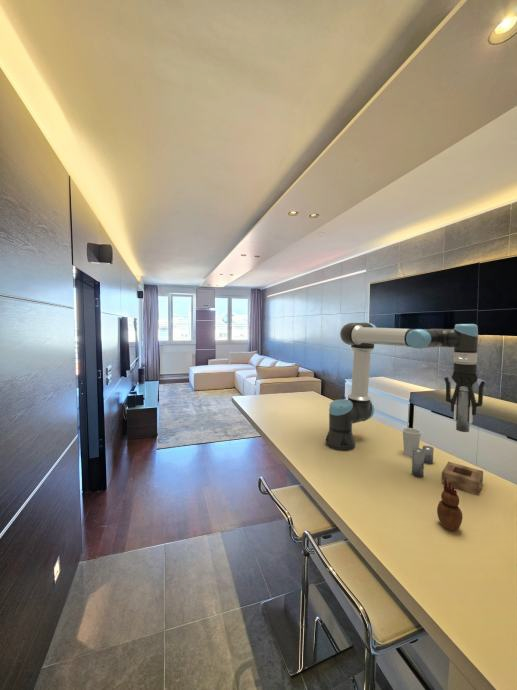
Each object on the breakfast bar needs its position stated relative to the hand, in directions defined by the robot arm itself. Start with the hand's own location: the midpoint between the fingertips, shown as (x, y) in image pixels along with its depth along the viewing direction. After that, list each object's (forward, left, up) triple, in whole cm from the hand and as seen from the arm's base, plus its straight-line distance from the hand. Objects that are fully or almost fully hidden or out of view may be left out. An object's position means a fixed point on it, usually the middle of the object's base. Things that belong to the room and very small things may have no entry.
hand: (462, 421), depth 117 cm
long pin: (0, 0, -4) cm, 4 cm away
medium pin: (-14, -5, -25) cm, 30 cm away
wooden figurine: (+2, -33, -26) cm, 42 cm away
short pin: (-14, +11, -25) cm, 31 cm away
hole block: (+1, 0, -25) cm, 25 cm away
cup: (-22, +14, -26) cm, 37 cm away
